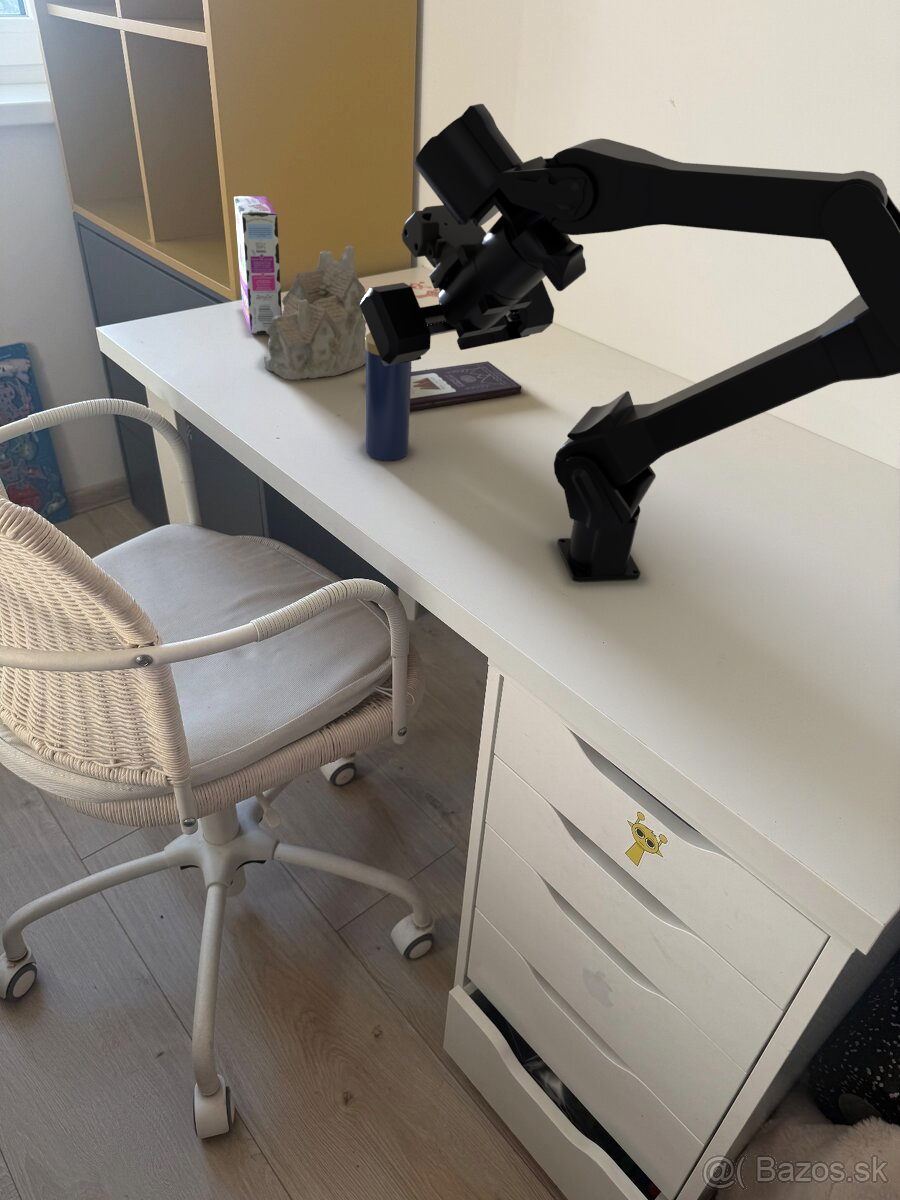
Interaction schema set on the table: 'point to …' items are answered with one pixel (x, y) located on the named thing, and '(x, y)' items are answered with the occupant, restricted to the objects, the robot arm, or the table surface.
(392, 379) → the blue canister
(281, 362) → the ceramic cottage
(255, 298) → the candy bar box
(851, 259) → the robot arm
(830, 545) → the table surface
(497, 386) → the chocolate bar
